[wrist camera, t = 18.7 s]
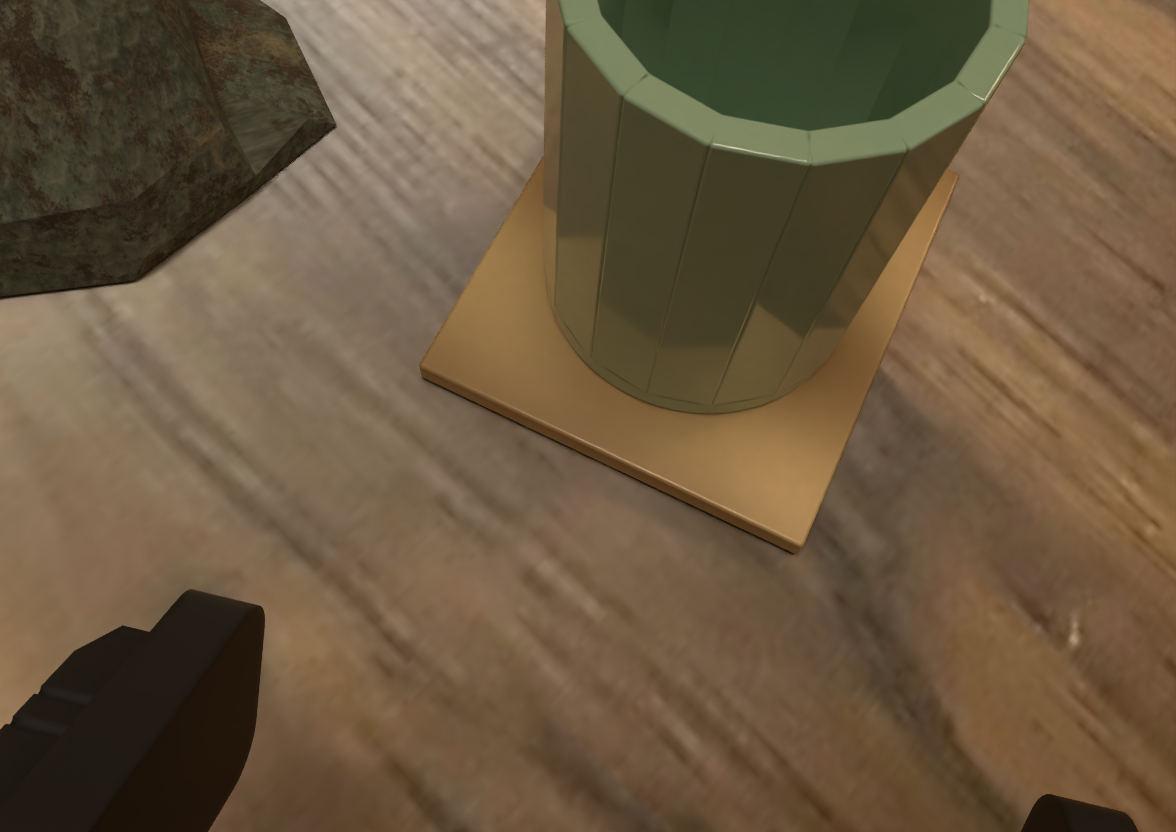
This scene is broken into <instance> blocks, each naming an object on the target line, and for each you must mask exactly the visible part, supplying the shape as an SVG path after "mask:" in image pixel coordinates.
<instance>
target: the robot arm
mask: <svg viewBox="0 0 1176 832" xmlns="http://www.w3.org/2000/svg"><path fill="white" fill-rule="evenodd" d="M264 628H265V615H264V610H263V608H262V607H261V606H259V605H255V604H251V603H246V602H242V601H238V600H234V599H230V598H226V597H222V596H217V595H213V594H209V593H205V592H201V591H197V590H191V589H190V590H188V591H186V592H184V593H183V594H182V595H181V596H180V597H179V598H178V599H177V601H176V602H175V603H174V604H173V605H172V606H171V608H170V609H169V610H168V611H167V612H166V614H165V615H164V616H163V617H162V618H161V619H160V621H159V622H158V623H157V624H156V625H155V626H154V628H153V629H152V630H151V631H150V632H147V631H143V630H139V629H135V628H131V627H127V626H121V627H119V628H117V629H115V630H113V631H111V632H109V633H107V634H106V635H104V636H102V637H100V638H98V639H96V640H94V641H92V642H90V643H89V644H87V645H85V646H83V647H81V648H79V649H77V650H75V651H74V652H73V653H72V654H71V655H70V656H69V657H68V658H67V659H66V660H65V661H64V662H63V664H62V665H61V666H60V667H59V668H58V669H57V670H56V671H55V672H54V673H53V674H52V675H51V676H50V677H49V678H48V679H47V681H46V682H45V683H44V684H43V685H42V686H41V689H40V692H39V693H38V694H33V695H32V697H31V698H30V699H29V700H28V701H27V702H26V703H25V704H24V705H23V706H22V707H21V708H20V709H19V710H18V711H17V713H16V714H15V715H14V716H13V720H12V722H11V724H10V725H9V724H5V725H4V726H3V727H2V728H1V730H0V832H208V831H209V829H210V827H211V826H212V824H213V822H214V821H215V819H216V817H217V816H218V814H219V812H220V811H221V809H222V807H223V806H224V804H225V802H226V801H227V799H228V797H229V796H230V794H231V792H232V791H233V789H234V787H235V785H236V784H237V782H238V780H239V778H240V775H241V773H242V771H243V768H244V766H245V763H246V761H247V758H248V755H249V752H250V748H251V745H252V741H253V737H254V732H255V727H256V718H257V707H258V695H259V684H260V673H261V662H262V650H263V639H264ZM1021 832H1138V830H1137V828H1136V826H1135V824H1134V822H1133V820H1132V819H1131V818H1130V817H1129V816H1128V815H1127V814H1126V813H1124V812H1121V811H1118V810H1114V809H1109V808H1105V807H1101V806H1097V805H1093V804H1089V803H1085V802H1080V801H1076V800H1072V799H1068V798H1064V797H1060V796H1056V795H1051V794H1046V795H1044V796H1042V797H1041V798H1039V799H1038V800H1037V802H1036V803H1035V804H1034V806H1033V808H1032V810H1031V812H1030V814H1029V816H1028V818H1027V820H1026V822H1025V824H1024V826H1023V828H1022V831H1021Z"/></svg>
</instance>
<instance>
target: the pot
mask: <svg viewBox="0 0 1176 832" xmlns="http://www.w3.org/2000/svg"><path fill="white" fill-rule="evenodd" d="M1028 13H1029V0H546V35H545V105H544V174H543V244H542V255H543V260H544V264H545V280H546V287H547V294H548V297H549V301H550V304H551V307H552V311H553V313H554V316H555V318H556V320H557V322H558V324H559V327H560V329H561V331H562V332H563V334H564V335H565V337H566V338H567V340H568V342H569V343H570V345H571V346H572V347H573V349H574V350H575V351H576V352H577V353H578V355H579V356H580V357H581V358H582V359H583V361H584V362H585V363H586V364H588V365H589V366H590V367H591V368H592V369H593V370H594V371H595V372H596V373H597V374H598V375H600V376H601V377H602V378H604V379H605V380H607V381H608V382H609V383H611V384H612V385H614V386H615V387H616V388H618V389H620V390H622V391H624V392H626V393H628V394H629V395H631V396H633V397H635V398H638V399H640V400H643V401H645V402H648V403H650V404H653V405H656V406H660V407H664V408H667V409H671V410H675V411H683V412H690V413H717V414H718V413H726V412H735V411H741V410H745V409H749V408H753V407H757V406H760V405H763V404H765V403H768V402H771V401H773V400H776V399H778V398H780V397H782V396H783V395H785V394H787V393H789V392H791V391H793V390H794V389H796V388H797V387H798V386H800V385H801V384H802V383H804V382H805V381H806V380H808V379H809V378H810V377H811V376H812V375H813V374H814V373H815V372H816V371H817V370H818V369H819V368H820V367H821V366H822V365H823V364H824V363H825V362H826V361H827V359H829V358H830V356H831V354H832V353H833V351H834V350H835V348H836V347H837V345H838V344H839V342H840V340H841V339H842V337H843V335H844V334H845V332H846V331H847V329H848V328H849V326H850V324H851V323H852V321H853V320H854V318H855V317H856V315H857V313H858V312H859V310H860V309H861V307H862V305H863V304H864V302H865V300H866V299H867V297H868V296H869V294H870V292H871V291H872V289H873V288H874V286H875V284H876V283H877V281H878V280H879V278H880V276H881V275H882V273H883V271H884V270H885V268H886V267H887V265H888V263H889V262H890V260H891V259H892V257H893V255H894V254H895V252H896V251H897V249H898V247H899V246H900V244H901V242H902V241H903V239H904V238H905V236H906V234H907V233H908V231H909V230H910V228H911V226H912V225H913V223H914V222H915V220H916V218H917V217H918V215H919V213H920V212H921V210H922V209H923V207H924V205H925V204H926V202H927V201H928V199H929V197H930V196H931V194H932V193H933V191H934V189H935V188H936V186H937V184H938V183H939V181H940V180H941V178H942V176H943V175H944V173H945V172H946V170H947V168H948V167H949V165H950V163H951V162H952V160H953V159H954V157H955V155H956V154H957V152H958V151H959V149H960V147H961V146H962V144H963V143H964V141H965V139H966V138H967V136H968V134H969V133H970V131H971V130H972V128H973V126H974V125H975V123H976V122H977V120H978V118H979V117H980V115H981V114H982V112H983V110H984V109H985V107H986V105H987V104H988V102H989V101H990V99H991V97H992V96H993V94H994V93H995V91H996V89H997V88H998V86H999V85H1000V83H1001V81H1002V80H1003V78H1004V76H1005V75H1006V73H1007V72H1008V70H1009V68H1010V67H1011V65H1012V64H1013V62H1014V60H1015V59H1016V57H1017V56H1018V54H1019V52H1020V51H1021V49H1022V47H1023V46H1024V44H1025V39H1026V37H1027V30H1028Z"/></svg>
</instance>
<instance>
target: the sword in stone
mask: <svg viewBox="0 0 1176 832" xmlns="http://www.w3.org/2000/svg"><path fill="white" fill-rule="evenodd" d="M335 125H336V123H335V121H334V119H333V116H332V114H331V112H330V110H329V108H328V106H327V104H326V102H325V100H324V97H323V95H322V93H321V91H320V89H319V87H318V85H317V83H316V81H315V79H314V76H313V74H312V72H311V70H310V68H309V66H308V64H307V62H306V60H305V58H304V55H303V53H302V51H301V49H300V47H299V45H298V43H297V41H296V39H295V37H294V34H293V32H292V30H291V28H290V26H289V24H288V22H287V20H286V18H285V17H283V16H282V15H280V14H279V13H278V12H276V11H275V10H273V9H272V8H270V7H269V6H267V5H266V4H265V3H263V2H262V1H260V0H0V296H9V295H17V294H25V293H33V292H42V291H50V290H58V289H67V288H75V287H83V286H91V285H100V284H108V283H116V282H125V281H133V280H136V279H137V278H138V277H140V276H141V275H143V274H144V273H145V272H147V271H148V270H149V269H151V268H152V267H153V266H155V265H156V264H157V263H159V262H160V261H161V260H163V259H164V258H165V257H167V256H168V255H170V254H171V253H172V252H174V251H175V250H176V249H178V248H179V247H180V246H182V245H183V244H184V243H186V242H187V241H188V240H190V239H191V238H192V237H194V236H195V235H197V234H198V233H199V232H201V231H202V230H203V229H205V228H206V227H207V226H209V225H210V224H211V223H213V222H214V221H215V220H217V219H218V218H219V217H221V216H222V215H224V214H225V213H226V212H228V211H229V210H230V209H232V208H233V207H234V206H236V205H237V204H238V203H240V202H241V201H242V200H244V199H245V198H246V197H248V196H249V195H250V194H251V193H253V192H254V191H255V190H256V189H258V188H259V187H260V186H261V185H262V184H264V183H265V182H266V181H267V180H269V179H270V178H271V177H272V176H273V175H275V174H276V173H277V172H278V171H280V170H281V169H282V168H283V167H285V166H286V165H287V164H288V163H289V162H291V161H292V160H293V159H294V158H296V157H297V156H298V155H299V154H300V153H302V152H303V151H304V150H305V149H307V148H308V147H309V146H310V145H311V144H313V143H314V142H315V141H316V140H318V139H319V138H320V137H321V136H322V135H324V134H325V133H326V132H327V131H329V130H330V129H331V128H332V127H334V126H335Z"/></svg>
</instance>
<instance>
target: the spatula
mask: <svg viewBox="0 0 1176 832" xmlns="http://www.w3.org/2000/svg"><path fill="white" fill-rule="evenodd" d="M543 174H544V156H543V157H542V159H541V161H540V162H539V164H538V166H537V168H536V169H535V171H534V173H533V174H532V176H531V178H530V179H529V181H528V183H527V184H526V186H525V188H524V189H523V191H522V193H521V194H520V196H519V198H518V199H517V201H516V203H515V204H514V206H513V208H512V210H511V211H510V213H509V215H508V216H507V218H506V220H505V221H504V223H503V225H502V226H501V228H500V230H499V231H498V233H497V235H496V236H495V238H494V240H493V241H492V243H491V245H490V246H489V248H488V250H487V252H486V253H485V255H484V257H483V258H482V260H481V262H480V263H479V265H478V267H477V268H476V270H475V272H474V273H473V275H472V277H471V278H470V280H469V282H468V283H467V285H466V287H465V289H464V290H463V292H462V294H461V295H460V297H459V299H458V300H457V302H456V304H455V305H454V307H453V309H452V310H451V312H450V314H449V315H448V317H447V319H446V320H445V322H444V324H443V325H442V327H441V329H440V331H439V332H438V334H437V336H436V337H435V339H434V341H433V342H432V344H431V346H430V347H429V349H428V351H427V352H426V354H425V356H424V357H423V359H422V361H421V362H420V365H419V367H420V371H421V375H422V377H423V378H425V379H427V380H429V381H431V382H434V383H436V384H438V385H440V386H442V387H444V388H446V389H448V390H450V391H453V392H455V393H457V394H459V395H461V396H463V397H465V398H467V399H469V400H471V401H474V402H476V403H478V404H480V405H482V406H484V407H486V408H488V409H490V410H493V411H495V412H497V413H499V414H501V415H503V416H505V417H507V418H509V419H512V420H514V421H516V422H518V423H520V424H522V425H524V426H526V427H528V428H530V429H533V430H535V431H537V432H539V433H541V434H543V435H545V436H547V437H549V438H552V439H554V440H556V441H558V442H560V443H562V444H564V445H566V446H568V447H571V448H573V449H575V450H577V451H579V452H581V453H583V454H585V455H587V456H590V457H592V458H594V459H596V460H598V461H600V462H602V463H604V464H606V465H608V466H611V467H613V468H615V469H617V470H619V471H621V472H623V473H625V474H627V475H630V476H632V477H634V478H636V479H638V480H640V481H642V482H644V483H646V484H649V485H651V486H653V487H655V488H657V489H659V490H661V491H663V492H665V493H667V494H670V495H672V496H674V497H676V498H678V499H680V500H682V501H684V502H686V503H689V504H691V505H693V506H695V507H697V508H699V509H701V510H703V511H705V512H708V513H710V514H712V515H714V516H716V517H718V518H720V519H722V520H724V521H727V522H729V523H731V524H733V525H735V526H737V527H739V528H741V529H743V530H745V531H748V532H750V533H752V534H754V535H756V536H758V537H760V538H762V539H764V540H767V541H769V542H771V543H773V544H775V545H777V546H779V547H781V548H783V549H786V550H788V551H790V552H792V553H797V552H798V551H799V550H800V549H801V548H802V547H803V546H804V543H805V541H806V539H807V536H808V534H809V531H810V529H811V527H812V524H813V522H814V520H815V517H816V515H817V513H818V510H819V508H820V505H821V503H822V501H823V498H824V496H825V494H826V491H827V489H828V487H829V484H830V482H831V479H832V477H833V475H834V472H835V470H836V468H837V465H838V463H839V461H840V458H841V456H842V453H843V451H844V449H845V446H846V444H847V442H848V439H849V437H850V435H851V432H852V430H853V427H854V425H855V423H856V420H857V418H858V416H859V413H860V411H861V409H862V406H863V404H864V401H865V399H866V397H867V394H868V392H869V390H870V387H871V385H872V383H873V380H874V378H875V375H876V373H877V371H878V368H879V366H880V364H881V361H882V359H883V357H884V354H885V352H886V349H887V347H888V345H889V342H890V340H891V338H892V335H893V333H894V331H895V328H896V326H897V323H898V321H899V319H900V316H901V314H902V312H903V309H904V307H905V305H906V302H907V300H908V297H909V295H910V293H911V290H912V288H913V286H914V283H915V281H916V279H917V276H918V274H919V271H920V269H921V267H922V264H923V262H924V260H925V257H926V255H927V253H928V250H929V248H930V245H931V243H932V241H933V238H934V236H935V234H936V231H937V229H938V227H939V224H940V222H941V219H942V217H943V215H944V212H945V210H946V208H947V205H948V203H949V201H950V198H951V196H952V193H953V191H954V189H955V186H956V184H957V182H958V179H959V175H958V174H957V173H955V172H953V171H950V170H948V169H947V170H946V172H945V173H944V175H943V176H942V178H941V180H940V181H939V183H938V184H937V186H936V188H935V189H934V191H933V193H932V194H931V196H930V197H929V199H928V201H927V202H926V204H925V205H924V207H923V209H922V210H921V212H920V213H919V215H918V217H917V218H916V220H915V222H914V223H913V225H912V226H911V228H910V230H909V231H908V233H907V234H906V236H905V238H904V239H903V241H902V242H901V244H900V246H899V247H898V249H897V251H896V252H895V254H894V255H893V257H892V259H891V260H890V262H889V263H888V265H887V267H886V268H885V270H884V271H883V273H882V275H881V276H880V278H879V280H878V281H877V283H876V284H875V286H874V288H873V289H872V291H871V292H870V294H869V296H868V297H867V299H866V300H865V302H864V304H863V305H862V307H861V309H860V310H859V312H858V313H857V315H856V317H855V318H854V320H853V321H852V323H851V324H850V326H849V328H848V329H847V331H846V332H845V334H844V335H843V337H842V339H841V340H840V342H839V344H838V345H837V347H836V348H835V350H834V351H833V353H832V354H831V356H830V358H829V359H827V361H826V362H825V363H824V364H823V365H822V366H821V367H820V368H819V369H818V370H817V371H816V372H815V373H814V374H813V375H812V376H811V377H810V378H809V379H808V380H806V381H805V382H804V383H802V384H801V385H800V386H798V387H797V388H796V389H794V390H793V391H791V392H789V393H787V394H785V395H783V396H782V397H780V398H778V399H776V400H773V401H771V402H768V403H765V404H763V405H760V406H757V407H753V408H749V409H745V410H741V411H735V412H726V413H718V414H717V413H690V412H683V411H675V410H671V409H667V408H664V407H660V406H656V405H653V404H650V403H648V402H645V401H643V400H640V399H638V398H635V397H633V396H631V395H629V394H628V393H626V392H624V391H622V390H620V389H618V388H616V387H615V386H614V385H612V384H611V383H609V382H608V381H607V380H605V379H604V378H602V377H601V376H600V375H598V374H597V373H596V372H595V371H594V370H593V369H592V368H591V367H590V366H589V365H588V364H586V363H585V362H584V361H583V359H582V358H581V357H580V356H579V355H578V353H577V352H576V351H575V350H574V349H573V347H572V346H571V345H570V343H569V342H568V340H567V338H566V337H565V335H564V334H563V332H562V331H561V329H560V327H559V324H558V322H557V320H556V318H555V316H554V313H553V311H552V307H551V304H550V301H549V297H548V294H547V287H546V280H545V264H544V260H543V255H542V244H543Z"/></svg>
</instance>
